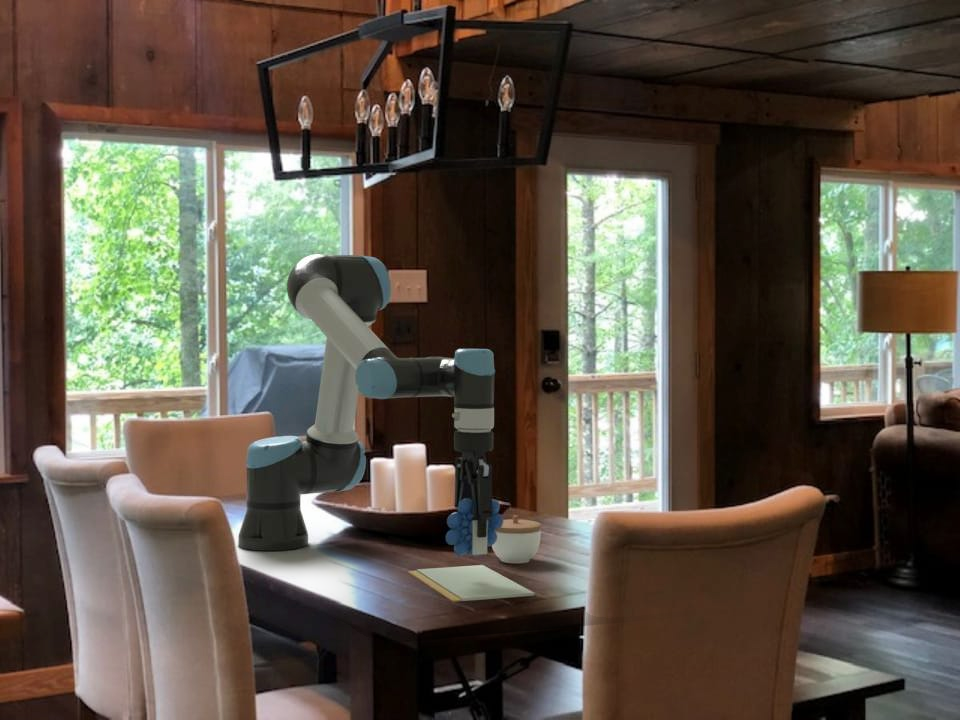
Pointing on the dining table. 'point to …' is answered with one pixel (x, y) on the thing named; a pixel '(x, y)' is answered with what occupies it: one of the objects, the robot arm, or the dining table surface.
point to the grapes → (470, 527)
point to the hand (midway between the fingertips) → (472, 550)
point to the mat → (474, 583)
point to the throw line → (435, 586)
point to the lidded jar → (517, 540)
